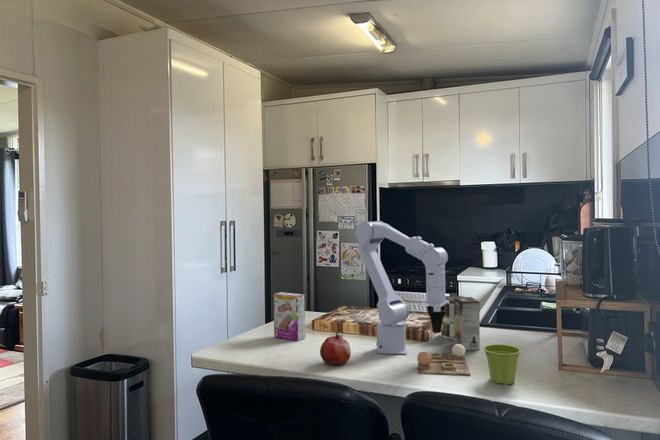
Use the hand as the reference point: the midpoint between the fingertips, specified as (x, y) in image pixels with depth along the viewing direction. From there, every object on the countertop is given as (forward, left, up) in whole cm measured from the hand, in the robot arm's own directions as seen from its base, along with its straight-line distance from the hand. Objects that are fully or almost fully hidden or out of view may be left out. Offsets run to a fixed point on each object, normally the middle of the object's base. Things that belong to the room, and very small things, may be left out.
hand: (436, 330), depth 151 cm
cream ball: (+7, +1, -6) cm, 9 cm away
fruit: (-30, -8, -9) cm, 33 cm away
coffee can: (+8, +30, -9) cm, 32 cm away
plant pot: (+17, -17, -9) cm, 26 cm away
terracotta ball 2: (0, 0, +1) cm, 1 cm away
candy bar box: (-52, +20, -9) cm, 57 cm away
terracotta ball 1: (-4, -9, -6) cm, 12 cm away
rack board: (+2, -4, -9) cm, 10 cm away
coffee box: (+11, +17, -9) cm, 22 cm away
